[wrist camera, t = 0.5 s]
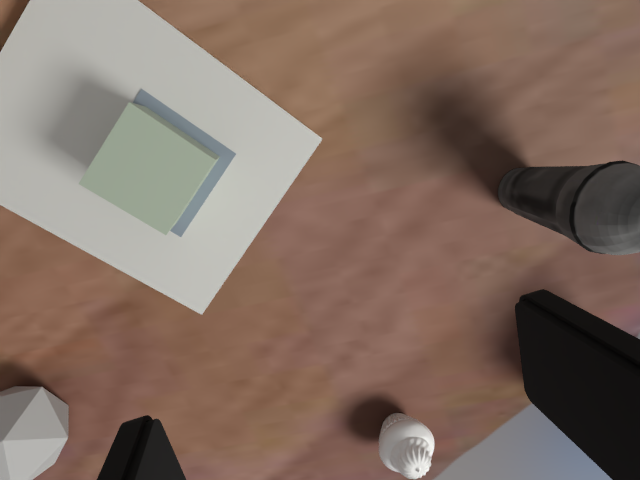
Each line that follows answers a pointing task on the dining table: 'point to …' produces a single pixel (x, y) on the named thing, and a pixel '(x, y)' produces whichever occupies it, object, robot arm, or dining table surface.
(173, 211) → the base block
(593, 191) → the beverage cup
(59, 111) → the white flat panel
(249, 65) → the dining table surface
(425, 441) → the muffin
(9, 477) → the die
